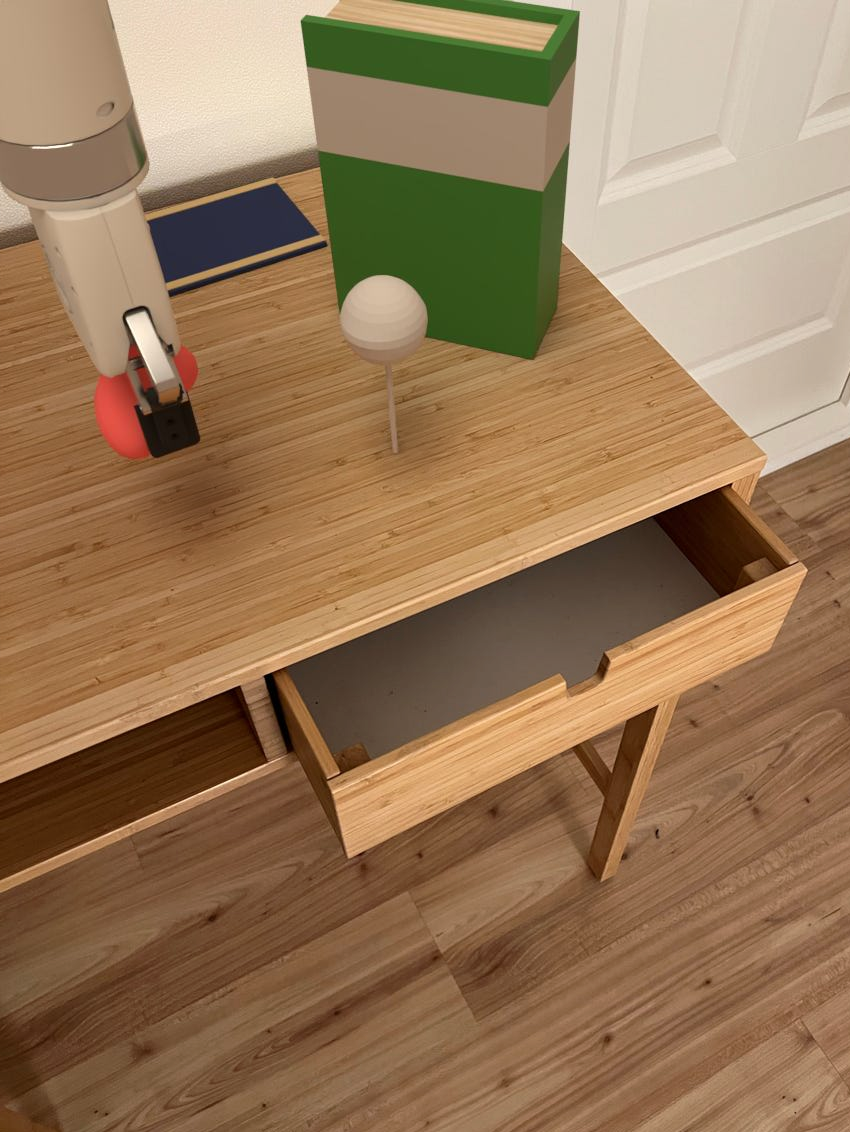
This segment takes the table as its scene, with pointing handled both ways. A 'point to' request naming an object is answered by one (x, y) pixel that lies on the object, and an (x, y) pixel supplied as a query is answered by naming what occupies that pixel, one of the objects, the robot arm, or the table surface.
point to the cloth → (229, 234)
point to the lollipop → (384, 327)
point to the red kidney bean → (132, 405)
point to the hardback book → (448, 156)
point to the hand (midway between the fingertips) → (152, 405)
